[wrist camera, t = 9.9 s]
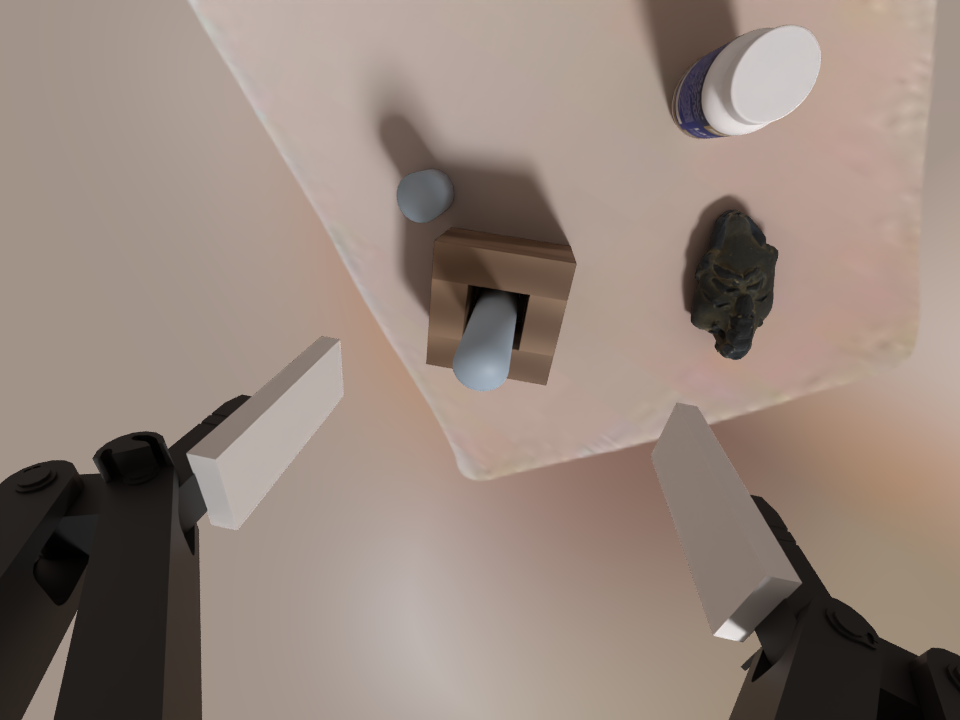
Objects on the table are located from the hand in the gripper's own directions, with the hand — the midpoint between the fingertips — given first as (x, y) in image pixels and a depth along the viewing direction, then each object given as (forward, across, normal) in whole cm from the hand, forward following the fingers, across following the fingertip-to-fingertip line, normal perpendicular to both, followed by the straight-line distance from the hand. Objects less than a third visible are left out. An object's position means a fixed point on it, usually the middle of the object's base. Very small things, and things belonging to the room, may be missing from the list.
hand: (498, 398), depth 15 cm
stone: (+27, +20, 0) cm, 33 cm away
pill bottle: (+27, +12, +14) cm, 33 cm away
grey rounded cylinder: (+27, -10, +4) cm, 28 cm away
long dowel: (+26, -2, -5) cm, 27 cm away
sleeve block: (+26, -2, -5) cm, 27 cm away
